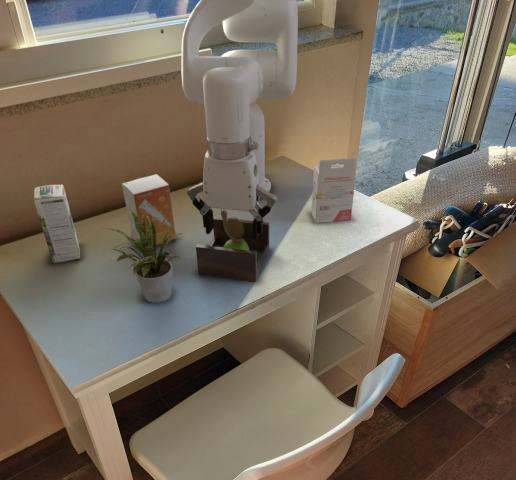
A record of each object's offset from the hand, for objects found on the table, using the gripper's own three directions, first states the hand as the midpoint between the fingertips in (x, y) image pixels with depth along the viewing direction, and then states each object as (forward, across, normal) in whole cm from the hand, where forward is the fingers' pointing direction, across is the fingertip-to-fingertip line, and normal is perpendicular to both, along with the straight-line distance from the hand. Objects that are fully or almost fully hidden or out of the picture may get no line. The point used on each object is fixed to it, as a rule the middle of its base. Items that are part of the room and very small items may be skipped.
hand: (233, 233), depth 102 cm
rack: (+7, 0, -1) cm, 7 cm away
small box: (+7, +20, -6) cm, 22 cm away
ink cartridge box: (+7, -17, -24) cm, 30 cm away
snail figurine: (+7, 0, -1) cm, 7 cm away
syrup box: (+7, +36, +4) cm, 37 cm away
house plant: (+7, +13, +13) cm, 20 cm away
